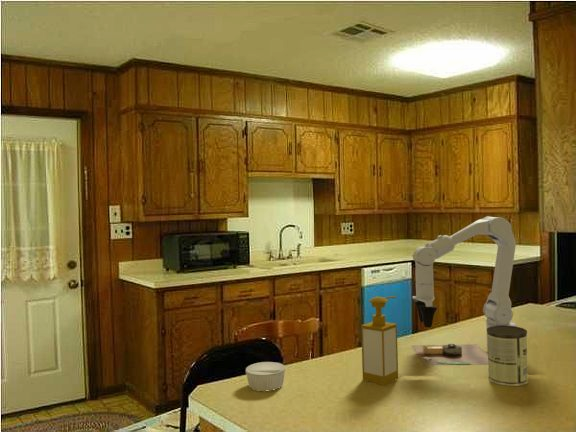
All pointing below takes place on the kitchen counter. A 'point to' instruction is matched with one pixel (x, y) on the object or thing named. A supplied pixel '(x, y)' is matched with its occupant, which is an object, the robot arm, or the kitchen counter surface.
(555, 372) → the kitchen counter surface
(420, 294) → the robot arm
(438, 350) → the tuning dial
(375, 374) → the soap bottle
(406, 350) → the kitchen counter surface
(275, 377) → the ramekin
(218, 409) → the kitchen counter surface
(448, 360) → the brown flat square slab
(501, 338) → the coffee can
